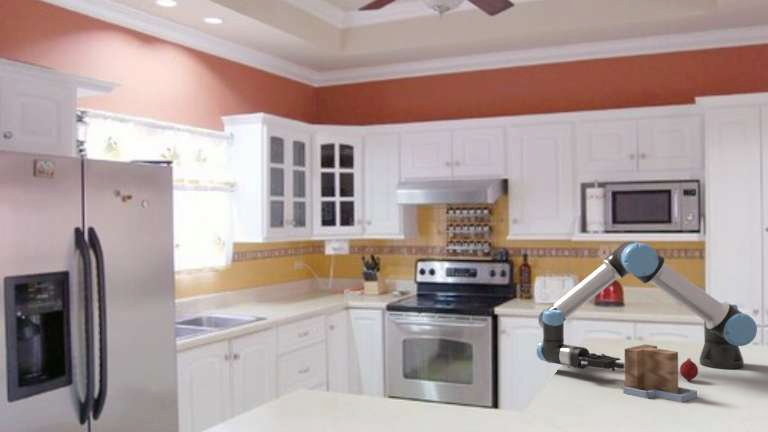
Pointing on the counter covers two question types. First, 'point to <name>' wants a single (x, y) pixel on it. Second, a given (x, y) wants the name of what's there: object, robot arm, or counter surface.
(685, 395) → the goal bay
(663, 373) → the tee block
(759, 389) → the counter surface
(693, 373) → the onion
